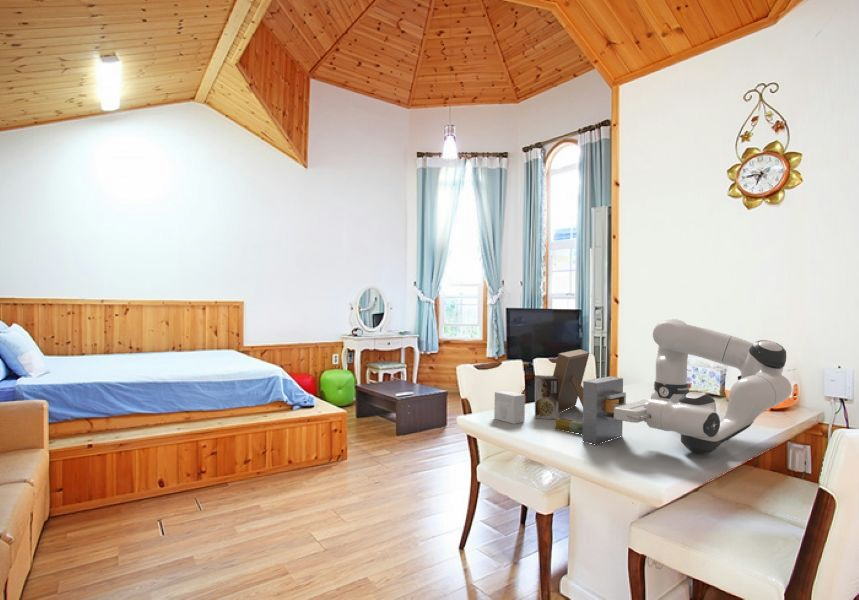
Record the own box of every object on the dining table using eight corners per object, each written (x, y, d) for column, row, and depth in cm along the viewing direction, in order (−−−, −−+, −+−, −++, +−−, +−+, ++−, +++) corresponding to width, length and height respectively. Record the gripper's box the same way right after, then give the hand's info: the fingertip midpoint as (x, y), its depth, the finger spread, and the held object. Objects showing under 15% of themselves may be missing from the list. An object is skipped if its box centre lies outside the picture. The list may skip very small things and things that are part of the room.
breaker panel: (608, 433, 169) (609, 376, 169) (630, 438, 163) (631, 379, 163) (582, 441, 159) (583, 381, 159) (604, 447, 153) (605, 384, 153)
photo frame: (543, 413, 197) (545, 352, 196) (566, 404, 214) (567, 348, 213) (579, 420, 187) (581, 355, 187) (599, 410, 204) (601, 351, 204)
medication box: (589, 435, 168) (589, 423, 168) (585, 436, 166) (586, 424, 166) (558, 428, 176) (558, 417, 176) (554, 429, 174) (554, 418, 174)
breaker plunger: (592, 405, 167) (593, 394, 167) (618, 411, 160) (618, 399, 160) (586, 407, 165) (586, 395, 165) (612, 412, 157) (612, 400, 157)
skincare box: (525, 421, 184) (525, 394, 184) (514, 424, 180) (514, 396, 180) (504, 416, 192) (505, 389, 192) (493, 418, 188) (493, 391, 188)
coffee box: (557, 415, 194) (557, 375, 193) (558, 419, 187) (559, 378, 187) (534, 414, 195) (534, 374, 195) (534, 418, 189) (535, 377, 189)
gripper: (640, 430, 141) (598, 420, 152) (672, 419, 154) (631, 411, 165) (641, 408, 141) (598, 400, 152) (673, 399, 154) (631, 392, 165)
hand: (615, 405), depth 159 cm, fingers closed
